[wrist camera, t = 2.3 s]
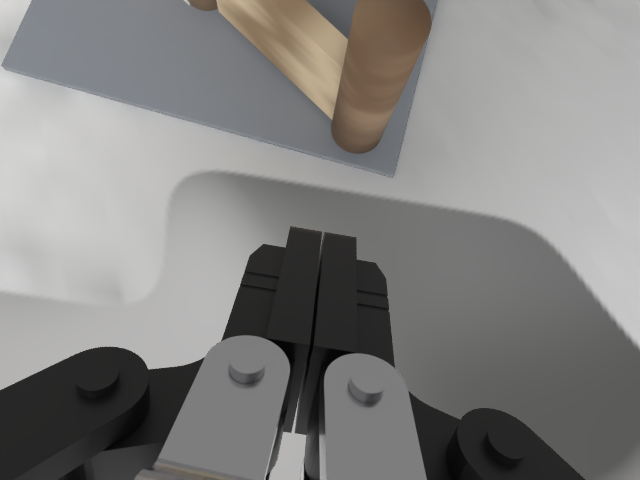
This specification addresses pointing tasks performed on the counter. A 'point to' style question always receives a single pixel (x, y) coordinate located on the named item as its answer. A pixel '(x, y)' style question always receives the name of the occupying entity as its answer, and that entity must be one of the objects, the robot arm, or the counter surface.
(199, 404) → the robot arm
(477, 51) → the counter surface
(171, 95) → the board
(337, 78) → the plank with upright peg
